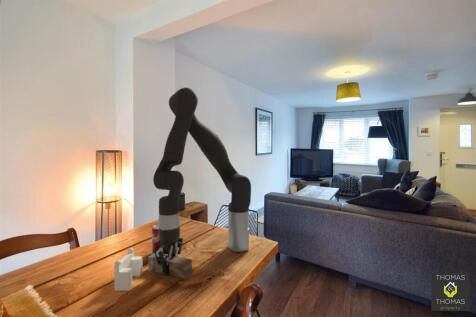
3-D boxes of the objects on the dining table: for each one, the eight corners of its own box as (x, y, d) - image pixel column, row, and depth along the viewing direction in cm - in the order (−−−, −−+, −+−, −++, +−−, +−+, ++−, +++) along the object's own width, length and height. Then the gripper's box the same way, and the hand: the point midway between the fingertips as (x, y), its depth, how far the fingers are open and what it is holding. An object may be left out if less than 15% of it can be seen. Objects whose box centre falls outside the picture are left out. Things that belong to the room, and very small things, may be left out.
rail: (192, 272, 84) (191, 258, 84) (185, 279, 80) (185, 264, 80) (156, 264, 89) (155, 251, 89) (148, 270, 85) (148, 256, 85)
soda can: (153, 259, 94) (152, 230, 93) (151, 251, 100) (150, 224, 100) (171, 255, 97) (171, 227, 96) (168, 248, 104) (167, 222, 103)
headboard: (142, 272, 84) (142, 247, 83) (128, 290, 73) (128, 261, 73) (130, 272, 84) (129, 247, 83) (114, 290, 74) (113, 261, 73)
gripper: (172, 218, 92) (173, 260, 93) (147, 230, 78) (148, 279, 79) (188, 220, 89) (189, 263, 90) (165, 233, 76) (166, 284, 77)
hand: (170, 270), depth 85 cm, fingers closed on rail, 4 cm apart
